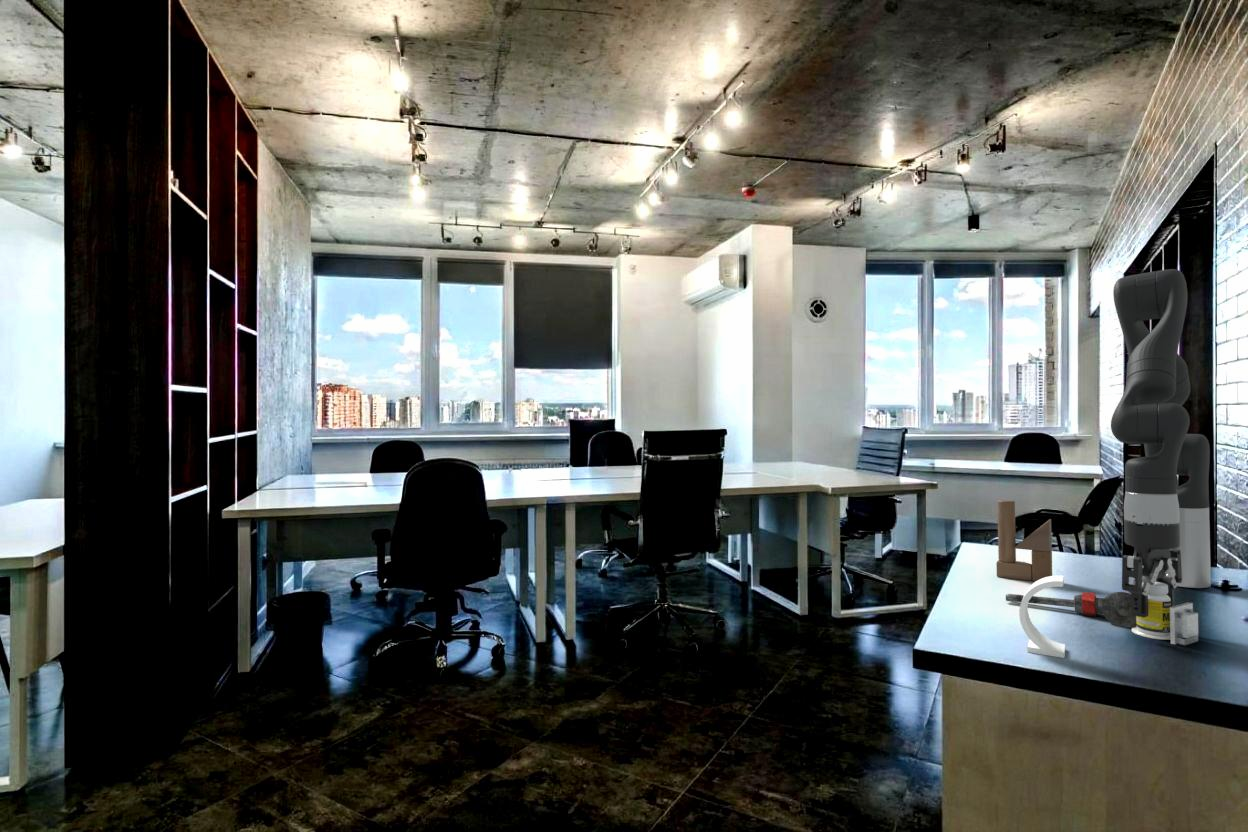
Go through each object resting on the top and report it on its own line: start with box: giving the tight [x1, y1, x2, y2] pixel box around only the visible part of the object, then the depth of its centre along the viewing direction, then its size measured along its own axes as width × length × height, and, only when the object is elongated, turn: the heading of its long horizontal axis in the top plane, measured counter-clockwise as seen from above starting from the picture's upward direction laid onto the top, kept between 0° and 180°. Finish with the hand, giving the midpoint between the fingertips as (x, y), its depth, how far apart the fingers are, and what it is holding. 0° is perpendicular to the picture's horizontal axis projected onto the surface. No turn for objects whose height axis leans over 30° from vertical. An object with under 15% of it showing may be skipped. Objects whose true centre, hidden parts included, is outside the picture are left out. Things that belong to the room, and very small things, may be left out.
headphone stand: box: [1018, 575, 1066, 659], centre depth 108 cm, size 5×6×12 cm
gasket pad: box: [1131, 627, 1171, 641], centre depth 114 cm, size 6×6×1 cm
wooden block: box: [995, 499, 1053, 583], centre depth 154 cm, size 4×11×18 cm, turn 50°
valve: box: [1005, 591, 1137, 629], centre depth 128 cm, size 6×26×15 cm
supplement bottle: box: [1136, 582, 1171, 636], centre depth 114 cm, size 5×5×8 cm
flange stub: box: [1170, 601, 1199, 646], centre depth 110 cm, size 6×2×6 cm, turn 117°
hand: (1153, 612), depth 114 cm, fingers open, 8 cm apart
